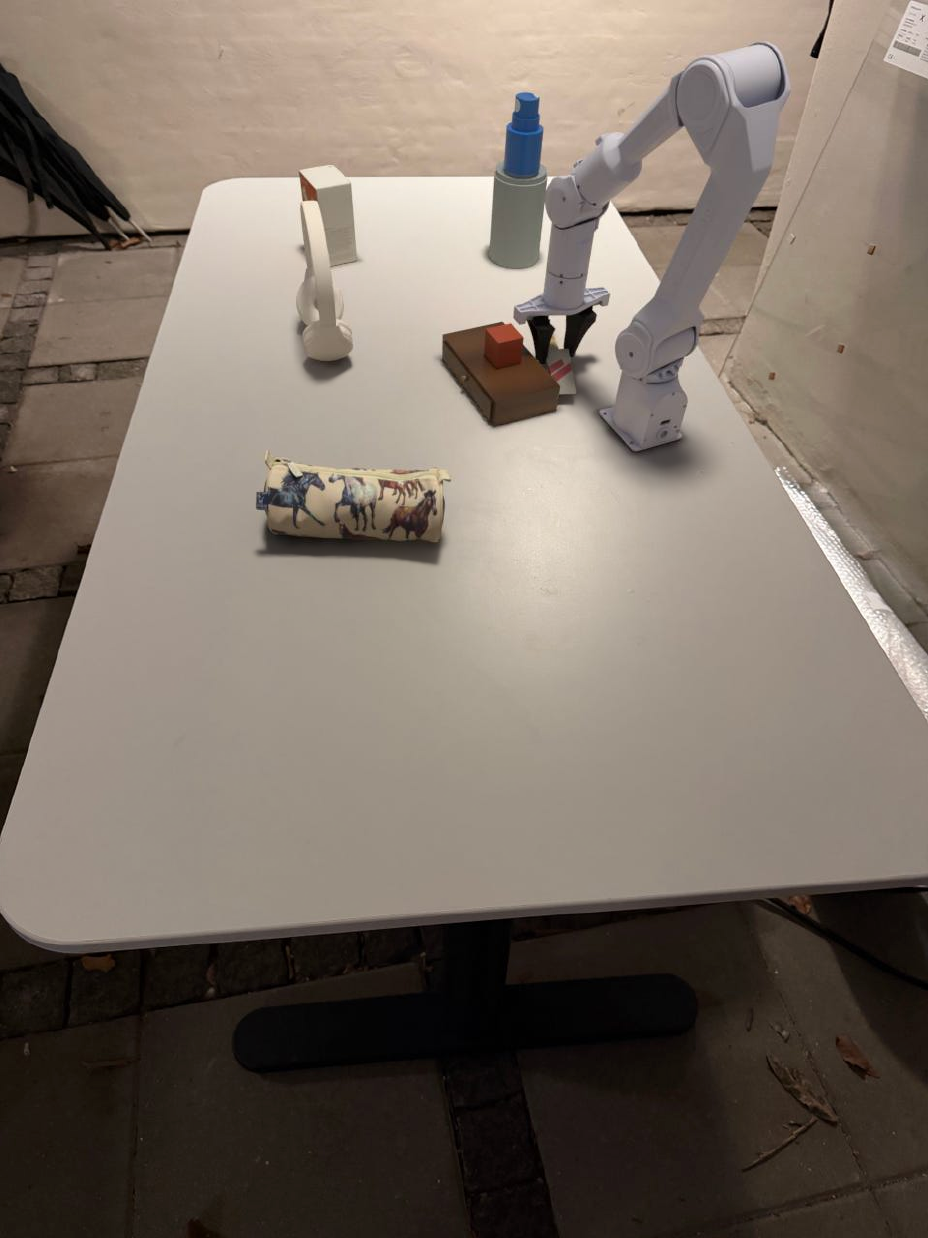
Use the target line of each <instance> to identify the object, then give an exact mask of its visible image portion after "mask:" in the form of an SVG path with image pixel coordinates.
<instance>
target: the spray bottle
mask: <svg viewBox="0 0 928 1238" xmlns="http://www.w3.org/2000/svg"><path fill="white" fill-rule="evenodd" d="M540 100H541V97H540V96H538V97H536V96H535V94H534V93H532V92H528V91H525V92H523V91H522V92H518V93H516V94H515V98H514V111H513V112H512V114H511V122H509V123H507V124H506V128H505V129H506V130H505V143H504V158H503V160H501V161H500V162H498V163H497V164H496V166H495V170H494V172H493V187H492V203H491V204H492V205H491V221H490V237H489V253H488V254H489V255H488V258H489V259H490V261H492V262H493V263H494V264H495V265H498V266H500V267H502V268H506V269H517V270H519V269H527V268H529V267H532V266H534V265H536V264H537V263H538V261H539V258H540V247H541V240H542V231H543V222H544V212H545V193H546V190H547V187H548V169H547V167H546V166H545V165H544V164H542V163H541V158H542V151H543V150H542V149H543V140H544V139H543V138H544V129H545V128H544V126H543V125H542V124H540V119H541V114H540V113H539V112H540V111H539V108H540Z"/></svg>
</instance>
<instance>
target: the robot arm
mask: <svg viewBox="0 0 928 1238" xmlns="http://www.w3.org/2000/svg"><path fill="white" fill-rule="evenodd" d="M791 91H792V87H791V82H790V78H789V74H788V69H787V64H786V61H785V57H784V56H783V53H782V52H781V50H780V49H779V48H778V46H776V45H775V44H773V43H771V42H769V41H764V40H763V41H757V42H754V43H752V44H749V45H748V46H746V47H741V48H737V49H732V50H728V51H725V52H721V53H716V54H713V55H712V54H704V55H700V56H698V57H696V58H694V59H693V60H691V61H690V62H689V63H688V64H687V65H686V66H685V68H684V70H680V71H679V72H678V73H677V74H674V76H672V77H671V78H670V82H669V85H668V86H667V87H666V89H664V90H663V91H662V93H661V94H660V95H659V96H658V97H657V99H655V100H654V101H653V102H652V103H651V105H649V107H648V108H647V109H646V110H645V111H644V112H643V114H641V116H639V118H637V119H636V120H635V122H634V123H633V124H632V125H631V126H630V127H629V128H628V129H627V130H626V132H624V133H623V132H620V131H619V132H618V131H615V132H611V133H610V132H607V133H603V134H600V135H599V136H598V137H597V138H596V139H595V141H594V143H595V145H596V146H595V148H593V150H591V151H590V152H589V153H588V154H587V156H585V157H584V158H580V159H577V160H576V161H575V163H573V164H572V165H573V169H572V170H571V172H570V173H569V174H567V175H557V176H554V177H553V178H552V179H551V181H550V183H549V184H547V187H546V193H545V205H544V208H545V212H546V214H547V216H548V219H549V220H550V222H551V225H550V235H549V241H548V242H549V243H548V251H547V259H546V267H545V277H544V283H543V284H544V285H543V292H542V293H540V294H538V295H536V296H533V297H532V298H529V299H528V300H526V301H524V302H522V303H518V304H515V305H514V306H513V315H512V318H513V320H514V321H515V322H516V323H517V324H518V325H525V324H526V323H527V325H528V328H529V330H530V334H531V337H532V342H533V346H534V357H535V358H536V359H537V361H538V362H539V363H540V364H541V365H543V364H545V363H546V358H547V357H548V350H549V344H550V341H551V338H552V335H553V334H555V331H556V328H555V326H554V325H553V324H551V319H550V316H554V317H555V316H556V317H557V316H565V332H564V337H563V349H569V354H570V359H572V358H574V357H575V355H576V353H577V351H578V348H579V346H580V344H581V342H582V340H583V338H584V337H585V335H586V333H588V331H589V329H590V328H591V327H592V326H593V325H594V324H595V323H596V322H597V317H598V314H597V312H595V311H594V307H595V306H596V307H597V306H600V307H608V306H609V302H610V297H611V292H610V291H609V290H607V288H606V287H604V286H600V287H586V286H587V280H588V275H589V267H590V262H591V256H592V251H593V250H592V249H593V242H594V236H595V233H596V232H597V230H598V229H599V225H600V220H601V218H603V216H604V215H605V214H606V213H607V211H608V210H609V206H610V202H611V201H612V200H613V199H614V198H615V197H617V196H618V195H619V194H620V193H621V192H623V190H625V189H626V188H627V187H629V186H630V185H631V184H632V183H633V182H634V181H635V180H637V179H638V177H639V176H640V174H641V171H642V169H643V160H644V159H645V158H647V156H648V155H650V154H651V153H652V152H653V151H655V150H656V149H657V148H658V147H660V146H661V145H663V144H664V143H665V142H666V141H667V140H669V139H670V138H671V137H673V136H674V135H676V133H678V132H680V130H681V129H683V128H684V129H685V130H686V132H687V134H688V136H689V137H690V139H691V141H692V143H693V144H694V146H695V148H696V150H697V152H698V154H699V156H700V158H701V159H702V161H703V163H704V164H705V165H706V166H708V167H709V169H710V175H709V177H708V179H707V181H706V183H705V185H704V188H703V189H702V191H701V194H700V196H699V199H698V200H697V203H696V205H695V207H694V210H693V211H692V213H691V215H690V218H689V220H688V222H687V224H686V227H685V229H684V231H683V233H682V235H681V237H680V240H679V242H678V244H677V246H676V248H675V250H674V252H673V255H672V256H671V259H670V260H669V263H668V266H667V267H666V269H665V272H664V274H663V276H662V278H661V280H660V282H659V285H658V287H657V289H656V291H655V293H654V295H653V297H652V298H651V299H650V300H649V301H648V302H647V303H646V304H645V305H644V306H643V307H642V308H641V309H640V310H639V311H637V312H636V313H635V314H634V316H633V317H632V320H631V322H630V323H629V324H628V326H627V327H626V328H624V329H623V330H621V331H620V332H619V333H618V335H617V337H616V339H615V345H614V354H615V358H616V359H615V360H616V362H617V364H618V366H619V369H620V370H621V372H620V373H621V374H620V378H619V382H618V387H617V392H616V395H615V401H614V405H613V406H611V407H607V408H603V409H601V410H599V416H600V417H601V418H602V419H603V420H604V421H605V422H606V423H607V424H608V426H610V428H611V429H612V430H613V431H614V432H615V433H616V434H617V435H618V436H619V437H620V438H621V439H622V441H624V443H625V444H626V445H627V446H628V448H629V449H631V450H632V451H633V452H640V451H643V450H647V449H650V448H653V447H656V446H660V445H664V444H667V443H671V442H674V441H678V440H681V439H682V438H683V434H682V433H681V432H680V430H681V427H682V423H683V419H684V417H685V413H686V410H687V407H688V402H689V401H688V400H689V399H688V395H687V393H686V391H684V389H683V387H682V386H681V383H680V379H679V371H680V368H682V366H683V363H684V359H685V357H688V356H690V355H692V354H693V353H694V352H695V351H696V348H697V347H698V345H699V340H700V329H701V326H702V323H704V319H705V317H706V316H705V314H704V313H703V310H702V309H701V307H700V305H701V304H702V302H703V300H704V298H705V296H706V294H707V292H708V290H709V289H710V287H711V285H712V283H713V281H714V279H715V278H716V275H717V273H718V271H720V268H721V266H722V265H723V262H724V260H725V258H726V256H727V255H728V253H729V251H730V249H731V247H732V246H733V243H734V242H735V240H736V238H737V236H738V234H739V232H740V230H741V229H742V226H743V225H744V223H745V221H746V219H747V217H748V215H749V213H750V211H751V210H752V208H753V206H754V204H755V202H756V201H757V199H758V196H759V195H760V193H761V191H762V189H763V187H764V185H765V183H766V181H767V179H768V177H769V175H770V173H771V170H772V169H773V168H772V167H773V162H774V157H775V156H774V155H775V148H776V142H777V136H778V130H779V129H778V128H779V122H780V115H781V112H782V110H783V108H784V106H785V104H786V102H787V100H788V99H789V96H790V94H791Z"/></svg>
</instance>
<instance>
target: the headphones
mask: <svg viewBox="0 0 928 1238" xmlns="http://www.w3.org/2000/svg"><path fill="white" fill-rule="evenodd" d="M299 205H300V207H299V211H300V221H301V231H302V237H303V238H302V239H303V248H304V254H305V262H306V268H305V271H304V279H303V281H302V283H301V284H300V286H299V288H298V290H297V294H296V296H295V297H296V298H295V306H296V310H297V314H298V316H299V317H300V319H301V320H302V322H303V323H304V324H305V325H306V327H305V328H304V330H303V332H302V341H303V345H304V348H305V352H306V355H307V356H308V357H309V358H311V359H313V360H315V361H321V362H332V361H337V360H341V359H343V358H344V357H346V356H348V355H349V354H350V353H351V352H352V350H353V348H354V343H353V337H352V336H353V332H352V328H351V327H350V325H349V324H347V322H345V321H343V320H341V319H342V317H343V314H344V310H345V303H344V297H343V295H342V292H341V290H340V289H339V288H338V286H337V285H336V283H335V282H334V281H333V276H332V275H333V273H332V268H331V267H332V266H330V260H329V253H328V249H327V243H326V238H325V232H324V227H323V222H322V217H321V213H320V209H319V205H318V203H317V201H301V202H300V204H299Z"/></svg>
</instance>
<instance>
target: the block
mask: <svg viewBox="0 0 928 1238" xmlns="http://www.w3.org/2000/svg"><path fill="white" fill-rule="evenodd" d="M504 324H505V325H501V326H496V327H491V328H487V329H486V333H485V349H484V354H485V356H486V357H487V358H488V359H489V360H490V362H491V363H492V364H493V365H494V366H495V368H496V369H497V368H501V367H505V366H510V365H514V364H518V363H521V359H522V350H523V345H524V340H525V337H524V336H523V335H522V334H521V333H520V332H519V330H518V329H517V328H516V327H515V326H514V325H513V324H512V323H511V322H510V323H504Z"/></svg>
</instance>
